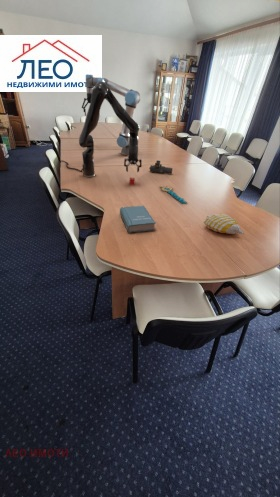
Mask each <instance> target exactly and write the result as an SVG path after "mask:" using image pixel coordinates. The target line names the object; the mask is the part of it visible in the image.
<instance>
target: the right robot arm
mask: <svg viewBox="0 0 280 497" xmlns="http://www.w3.org/2000/svg"><path fill="white" fill-rule="evenodd" d="M100 81H102V82H104V83H106V85H107V86H108V87H109V89H110V90H111V92H112V93H115V94H117V95H120V96H122V97H124V101H125V103H124V106H125V110H126V111H127V113H128V114H129V115H130V116H131V118H132V119H133V116H134V111H135V110H136V109H137V106H138V104H139V103H140V102H141V98H142V97H141V94H140V92H139V91H137V90H134V89H128V88H127V87H124V86H122V85H120V84H118V83H116V82H113V81H111V80H108V78H105V77H94V75H93V74H85V86H86V88H85V90H86V97H83V103H82V105H81V109H83V113H84V116H85V117H86V115H87V109H86V107H87V106H88V105H89V104H90V103H91V97H92V91H93V88H94V86H95V85H96V84H97V83H98V82H100ZM86 101H87V102H86ZM101 108H102V107H101ZM101 108H100V110H101ZM129 138H130V134H129V129H128V128H127V126H126V125H125V124H124V123H123V122H122V125H121V131H119V134H118V137H117V138H116V144H117V145H118V147H120V148H121V150H120V154H121V155H123V156H128V155H129Z"/></svg>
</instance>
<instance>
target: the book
mask: <svg viewBox="0 0 280 497" xmlns="http://www.w3.org/2000/svg"><path fill="white" fill-rule="evenodd" d="M119 214H120V217H121V219H122V221H123V223H124V226H125V227H126V230H127V232H128V233H141V232H151V231H155V230H156V229H155V224H156V221H155V220H154V218H153V217H152V215H151V214H150V212H149V211H148V209H147V207H146V206H145V205H135V206H134V205H133V206H124V207H123V206H122V207H120V208H119Z"/></svg>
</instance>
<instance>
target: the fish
mask: <svg viewBox="0 0 280 497" xmlns="http://www.w3.org/2000/svg"><path fill="white" fill-rule="evenodd" d="M203 223H204V225H205V226H206V227H207V228H208V229H210V230H212V231H214V232H217V233H222V234H227V235H237V234H239V235H244V234H245V233H244V232H243V231H242V229H241V227H240V225H239V224H238V222H237V219H236V218H235V217H232V216H230V215H229V214H228V213H216V214H210V215H207V216H206V218H205V219H204V220H203Z"/></svg>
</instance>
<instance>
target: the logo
mask: <svg viewBox="0 0 280 497" xmlns="http://www.w3.org/2000/svg"><path fill="white" fill-rule="evenodd" d="M159 188H160V189H161V191H162V192H163V193H164V192H165V193H168V194H169V195H171V197H173V198H174V199H176V200H177V201H178V202H179V203H181V204H187V203H188V202H187V201H185V199H184V198H181V197H180V196H179V195H178V194H177V193H176V192H173V191H174V190H173V187H169V186H168V185H166V186H163V185H160V186H159Z"/></svg>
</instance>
